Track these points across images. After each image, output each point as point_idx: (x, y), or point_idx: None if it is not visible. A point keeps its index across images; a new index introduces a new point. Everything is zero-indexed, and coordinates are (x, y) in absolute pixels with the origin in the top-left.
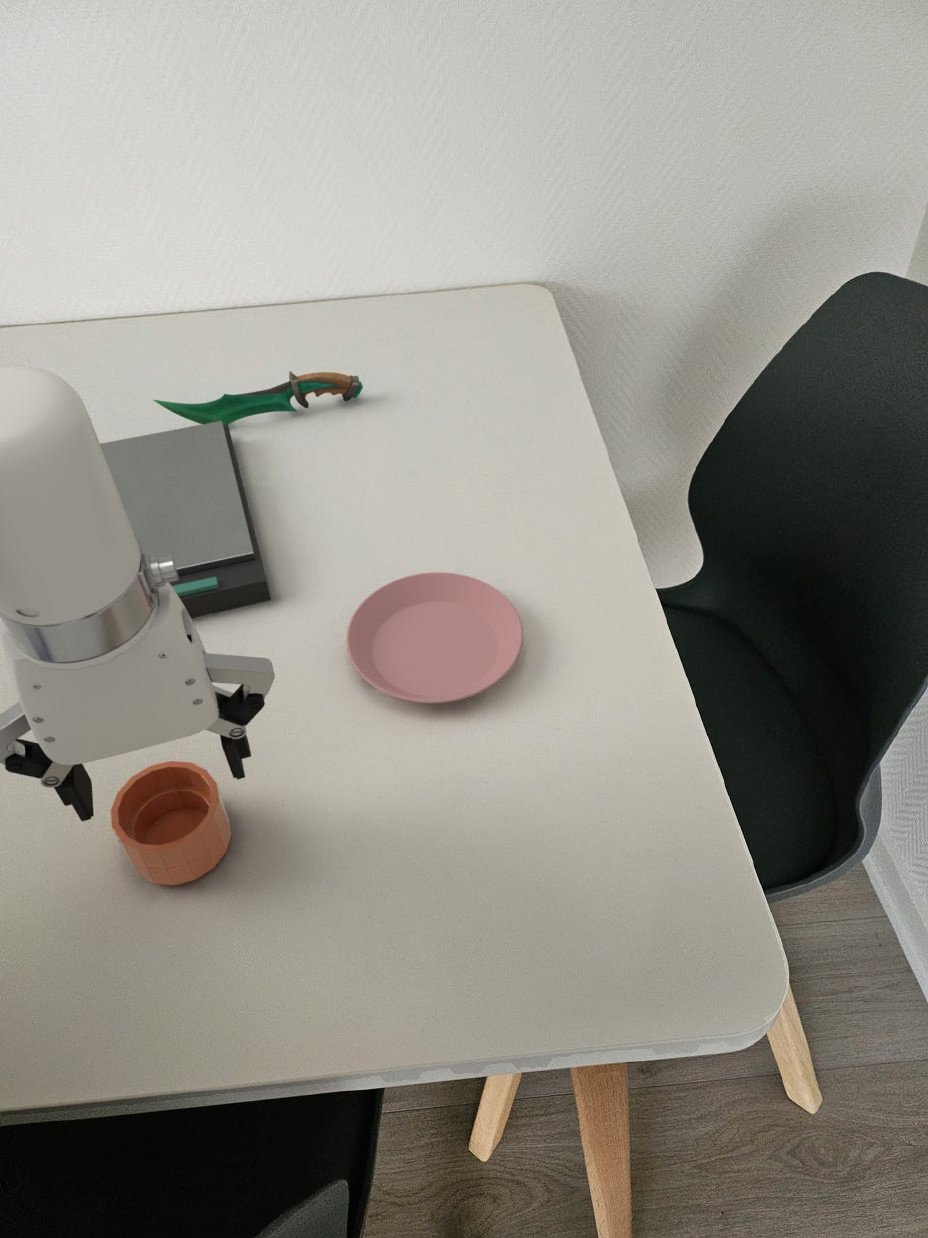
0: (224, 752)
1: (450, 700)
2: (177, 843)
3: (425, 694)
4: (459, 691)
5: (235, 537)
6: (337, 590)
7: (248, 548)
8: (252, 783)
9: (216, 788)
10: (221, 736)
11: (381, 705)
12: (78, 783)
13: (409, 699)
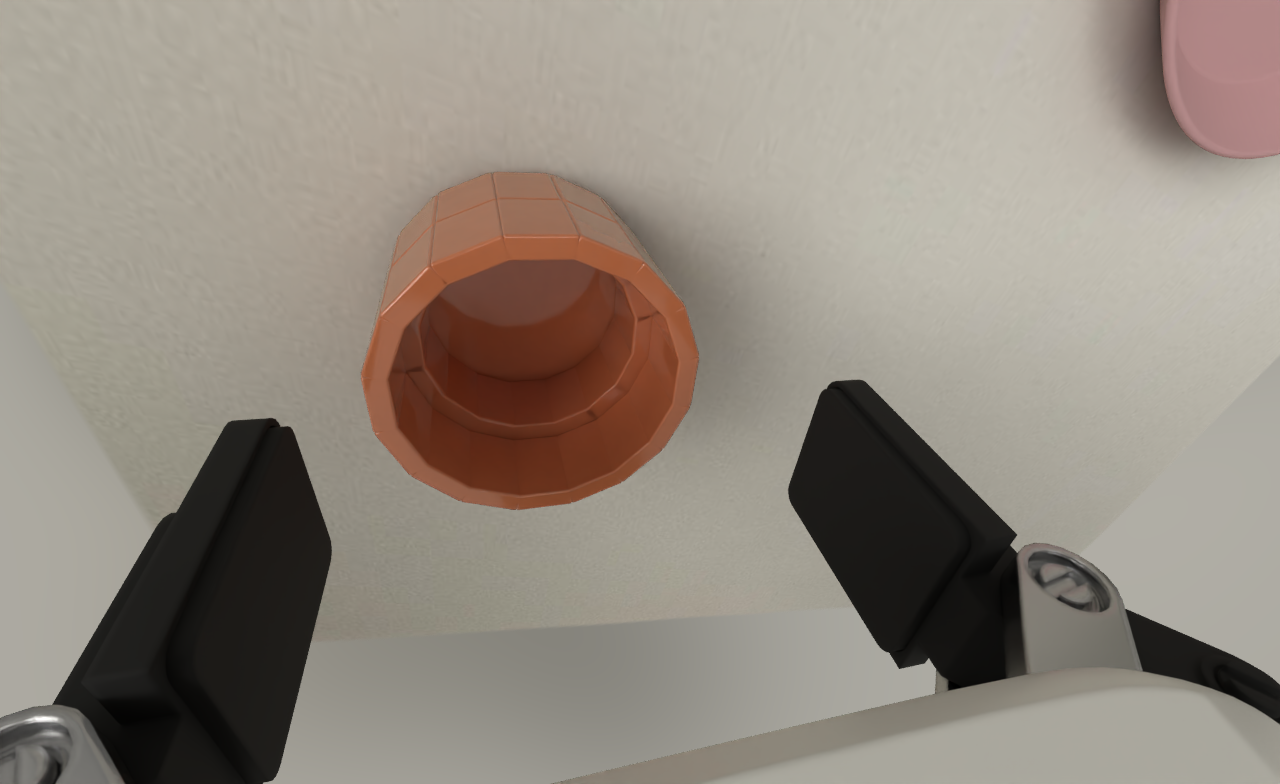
0: (865, 622)
1: (1224, 154)
2: (564, 497)
3: (1190, 51)
4: (1238, 79)
5: None
6: None
7: None
8: (722, 169)
9: (695, 376)
10: (908, 633)
11: (1098, 29)
12: (276, 694)
13: (1179, 111)
